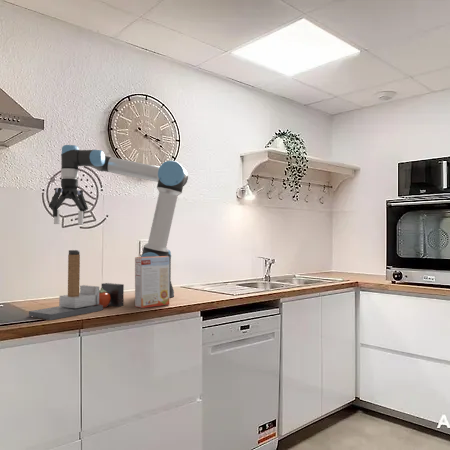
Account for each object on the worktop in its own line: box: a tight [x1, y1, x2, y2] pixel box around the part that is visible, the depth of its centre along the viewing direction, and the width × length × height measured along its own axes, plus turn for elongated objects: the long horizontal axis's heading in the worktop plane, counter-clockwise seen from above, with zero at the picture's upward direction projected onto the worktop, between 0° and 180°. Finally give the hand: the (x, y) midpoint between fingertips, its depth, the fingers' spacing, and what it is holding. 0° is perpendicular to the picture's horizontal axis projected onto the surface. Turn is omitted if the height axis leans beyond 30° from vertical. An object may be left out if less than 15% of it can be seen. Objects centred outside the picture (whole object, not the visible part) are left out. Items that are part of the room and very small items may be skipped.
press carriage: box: [58, 249, 100, 308], centre depth 171 cm, size 12×9×22 cm
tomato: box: [98, 288, 111, 309], centre depth 181 cm, size 7×7×8 cm
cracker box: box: [134, 256, 170, 309], centre depth 185 cm, size 14×6×21 cm, turn 131°
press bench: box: [28, 282, 125, 321], centre depth 172 cm, size 37×12×9 cm, turn 149°
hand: (69, 224), depth 202 cm, fingers open, 13 cm apart
